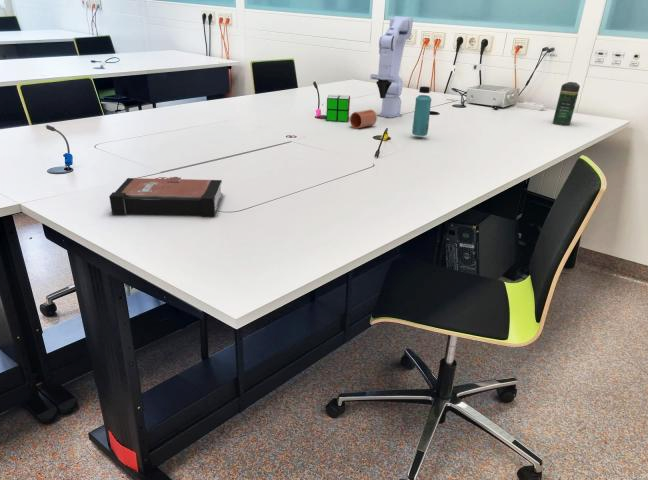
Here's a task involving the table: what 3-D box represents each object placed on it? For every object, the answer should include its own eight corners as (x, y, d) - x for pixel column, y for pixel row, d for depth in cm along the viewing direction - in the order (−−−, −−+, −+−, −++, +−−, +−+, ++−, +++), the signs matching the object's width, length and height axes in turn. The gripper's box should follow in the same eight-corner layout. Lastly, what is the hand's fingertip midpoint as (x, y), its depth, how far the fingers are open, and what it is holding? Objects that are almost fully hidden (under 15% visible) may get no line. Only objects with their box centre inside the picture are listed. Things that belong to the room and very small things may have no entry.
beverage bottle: (426, 140, 222) (433, 88, 212) (410, 138, 223) (416, 87, 213) (427, 136, 227) (433, 86, 217) (411, 135, 228) (417, 85, 218)
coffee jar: (568, 126, 255) (579, 84, 246) (551, 124, 258) (561, 82, 249) (571, 122, 262) (582, 82, 253) (554, 120, 265) (564, 80, 256)
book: (223, 194, 156) (222, 177, 153) (214, 216, 141) (213, 198, 138) (130, 192, 154) (128, 175, 152) (112, 214, 139) (109, 196, 137)
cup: (365, 108, 241) (350, 111, 235) (377, 110, 237) (362, 113, 231) (364, 124, 245) (349, 127, 238) (375, 126, 241) (361, 129, 234)
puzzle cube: (349, 117, 256) (350, 95, 251) (347, 122, 248) (349, 99, 243) (327, 116, 257) (328, 94, 252) (326, 120, 248) (326, 97, 243)
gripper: (366, 64, 240) (364, 96, 247) (393, 67, 232) (390, 101, 239) (376, 63, 245) (374, 95, 252) (402, 66, 236) (399, 99, 243)
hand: (382, 98), depth 245 cm, fingers closed
